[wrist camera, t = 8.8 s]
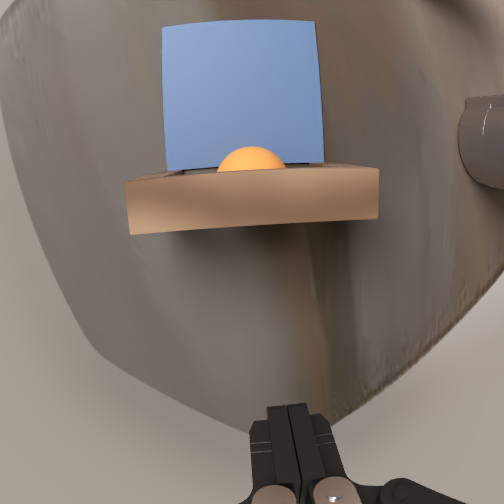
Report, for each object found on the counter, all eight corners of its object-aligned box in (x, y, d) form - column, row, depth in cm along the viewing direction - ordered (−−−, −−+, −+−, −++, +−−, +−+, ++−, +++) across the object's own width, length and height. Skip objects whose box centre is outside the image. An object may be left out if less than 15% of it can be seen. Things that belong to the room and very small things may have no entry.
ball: (236, 209, 19) (205, 224, 24) (307, 214, 22) (267, 226, 27) (232, 128, 20) (203, 157, 25) (300, 142, 22) (263, 164, 27)
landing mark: (162, 28, 21) (162, 27, 21) (313, 22, 22) (314, 21, 22) (167, 171, 25) (167, 171, 25) (323, 162, 26) (324, 162, 26)
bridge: (159, 172, 25) (124, 182, 16) (331, 162, 26) (378, 168, 17) (162, 207, 26) (130, 234, 17) (332, 196, 27) (377, 219, 18)
